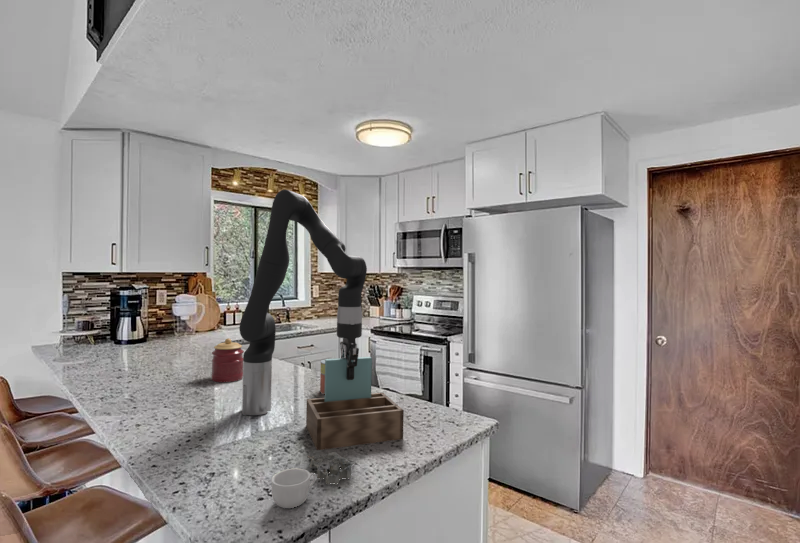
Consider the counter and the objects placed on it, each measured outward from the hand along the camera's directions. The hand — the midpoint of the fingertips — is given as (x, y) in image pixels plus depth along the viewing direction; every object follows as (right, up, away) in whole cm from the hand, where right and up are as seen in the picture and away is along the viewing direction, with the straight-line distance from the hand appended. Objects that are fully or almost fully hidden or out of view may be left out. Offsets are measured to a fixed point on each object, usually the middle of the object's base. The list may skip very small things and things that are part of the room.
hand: (348, 377), depth 129 cm
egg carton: (-1, -16, -28) cm, 33 cm away
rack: (+2, -16, -6) cm, 17 cm away
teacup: (-6, -16, -40) cm, 44 cm away
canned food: (-11, -16, +40) cm, 45 cm away
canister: (-59, -15, +56) cm, 83 cm away
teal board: (0, -14, 0) cm, 14 cm away
